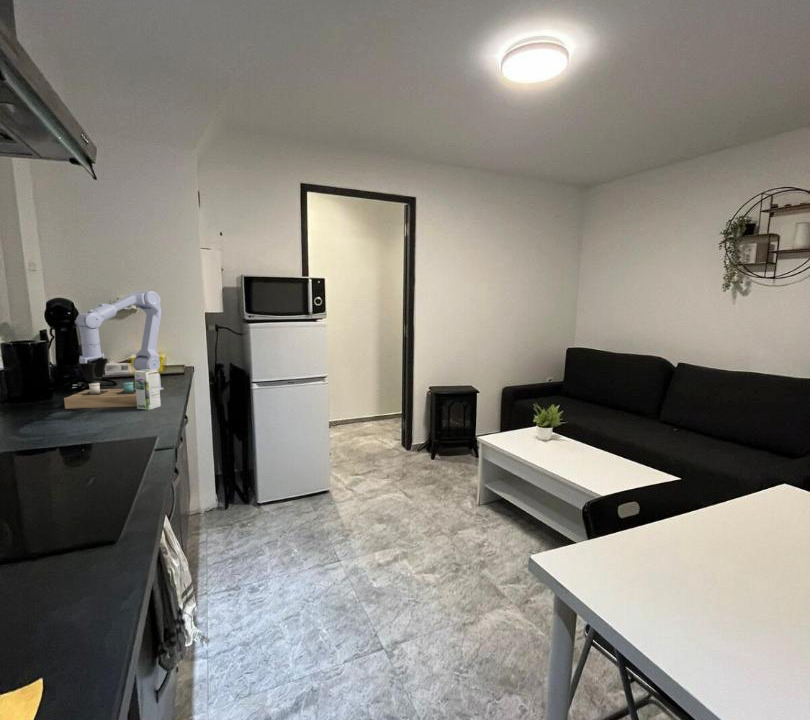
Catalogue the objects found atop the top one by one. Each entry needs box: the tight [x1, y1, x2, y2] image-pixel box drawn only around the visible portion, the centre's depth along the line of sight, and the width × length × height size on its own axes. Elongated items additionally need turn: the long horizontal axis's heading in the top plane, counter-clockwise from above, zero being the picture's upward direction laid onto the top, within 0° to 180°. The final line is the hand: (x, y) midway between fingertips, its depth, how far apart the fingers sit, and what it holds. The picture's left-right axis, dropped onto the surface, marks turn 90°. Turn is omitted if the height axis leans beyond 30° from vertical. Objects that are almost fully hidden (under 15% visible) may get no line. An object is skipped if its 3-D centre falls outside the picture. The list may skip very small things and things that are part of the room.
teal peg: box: [122, 381, 135, 393], centre depth 163 cm, size 3×3×4 cm
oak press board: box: [63, 388, 137, 410], centre depth 163 cm, size 14×26×4 cm, turn 100°
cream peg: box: [88, 382, 101, 394], centre depth 161 cm, size 3×3×4 cm
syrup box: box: [133, 369, 162, 411], centre depth 155 cm, size 6×6×14 cm
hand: (94, 378), depth 160 cm, fingers open, 7 cm apart
